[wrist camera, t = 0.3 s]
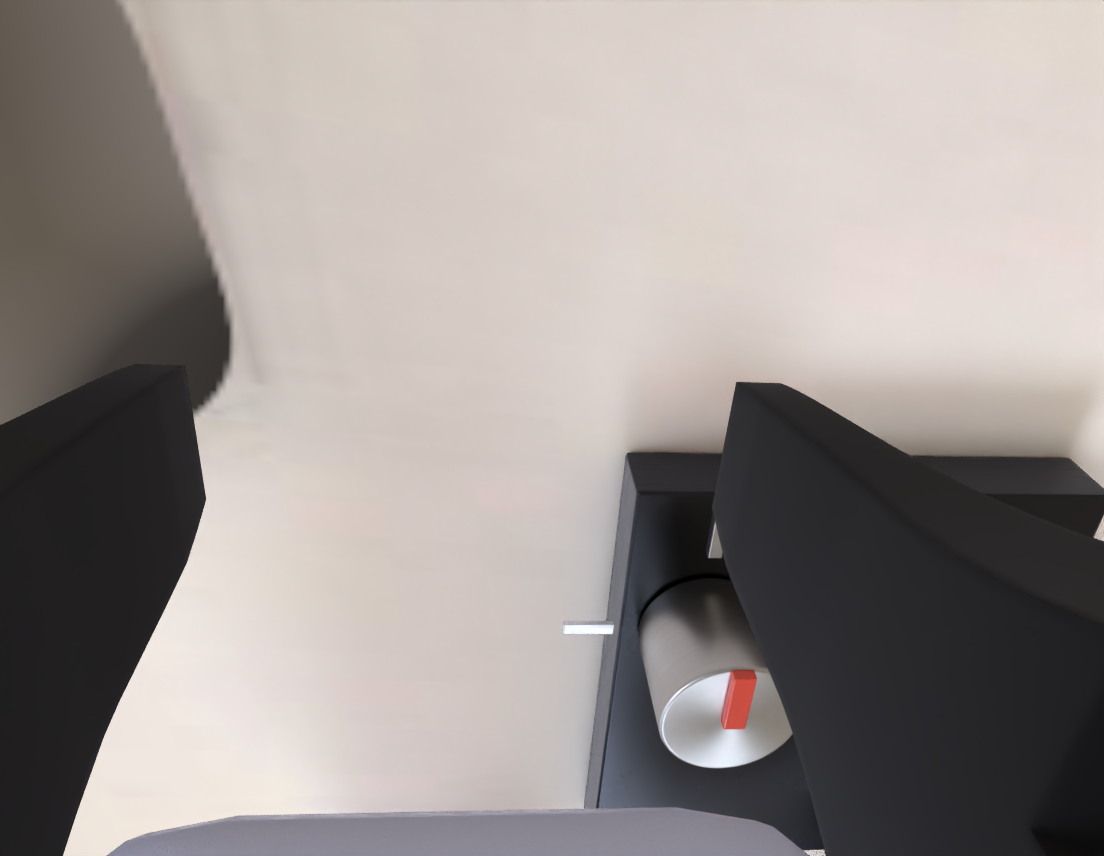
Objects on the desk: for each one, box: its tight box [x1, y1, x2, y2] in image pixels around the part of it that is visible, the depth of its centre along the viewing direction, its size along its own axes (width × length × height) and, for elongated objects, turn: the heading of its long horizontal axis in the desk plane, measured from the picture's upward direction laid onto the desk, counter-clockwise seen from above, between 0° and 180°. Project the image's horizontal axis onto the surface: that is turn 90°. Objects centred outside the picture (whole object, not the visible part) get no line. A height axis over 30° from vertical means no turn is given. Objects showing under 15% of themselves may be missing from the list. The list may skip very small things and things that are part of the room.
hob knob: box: [638, 578, 793, 768], centre depth 23 cm, size 4×4×4 cm
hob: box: [563, 453, 1104, 850], centre depth 27 cm, size 15×15×2 cm
